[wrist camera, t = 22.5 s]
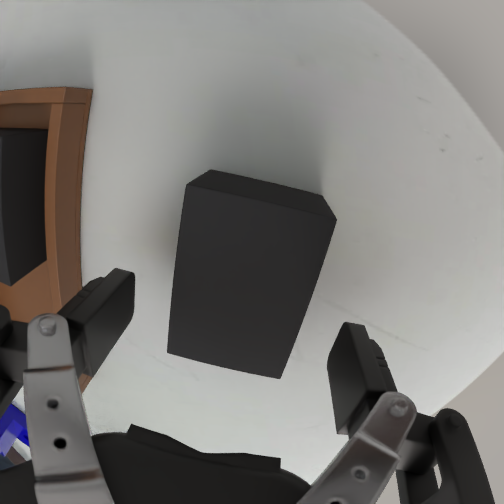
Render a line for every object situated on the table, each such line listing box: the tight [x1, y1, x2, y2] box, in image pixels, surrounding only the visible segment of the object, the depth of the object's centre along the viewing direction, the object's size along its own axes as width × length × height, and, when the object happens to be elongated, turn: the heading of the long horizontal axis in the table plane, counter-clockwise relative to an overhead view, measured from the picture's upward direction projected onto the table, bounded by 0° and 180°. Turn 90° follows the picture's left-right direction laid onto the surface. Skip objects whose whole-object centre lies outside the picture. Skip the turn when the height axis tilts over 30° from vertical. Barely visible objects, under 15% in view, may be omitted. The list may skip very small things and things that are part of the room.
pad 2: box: [167, 170, 337, 379], centre depth 14 cm, size 8×6×4 cm
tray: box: [0, 87, 93, 394], centre depth 16 cm, size 21×10×2 cm, turn 168°
